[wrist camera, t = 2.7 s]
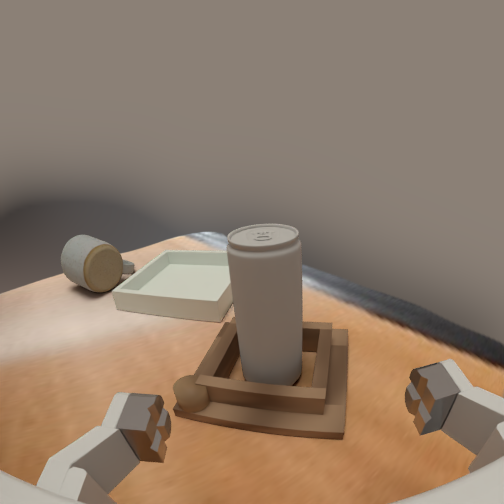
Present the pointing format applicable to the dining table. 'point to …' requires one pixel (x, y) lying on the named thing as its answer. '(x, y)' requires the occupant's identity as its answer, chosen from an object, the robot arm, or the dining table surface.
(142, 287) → the tray
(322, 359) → the walnut collar
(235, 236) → the beverage can
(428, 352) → the dining table surface
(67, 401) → the dining table surface
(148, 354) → the dining table surface
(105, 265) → the ceramic mug
